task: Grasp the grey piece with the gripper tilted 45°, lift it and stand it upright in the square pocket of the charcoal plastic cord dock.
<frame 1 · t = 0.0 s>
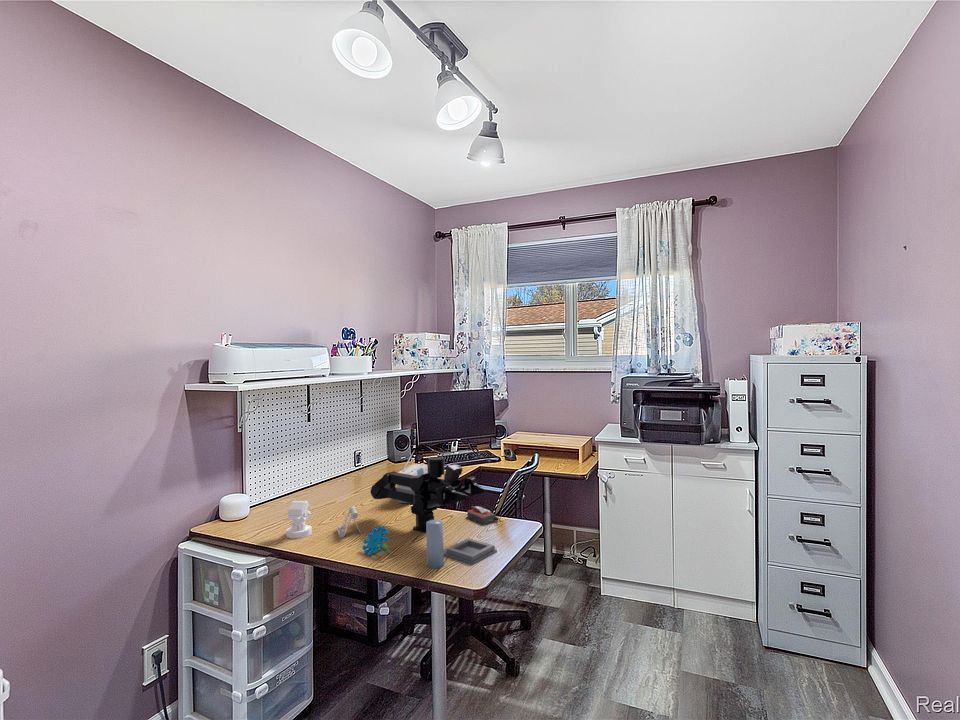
hand: (476, 494, 165), 17 cm above the table, tool horizontal, fingers open, 9 cm apart
character figurine: (298, 535, 178), on the table
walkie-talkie: (479, 518, 193), on the table
portable electronic device stand: (349, 533, 179), on the table
stereo radio cassette player: (413, 498, 223), on the table
cord dock: (470, 553, 157), on the table
grey piece: (435, 565, 148), on the table
gear: (376, 553, 160), on the table
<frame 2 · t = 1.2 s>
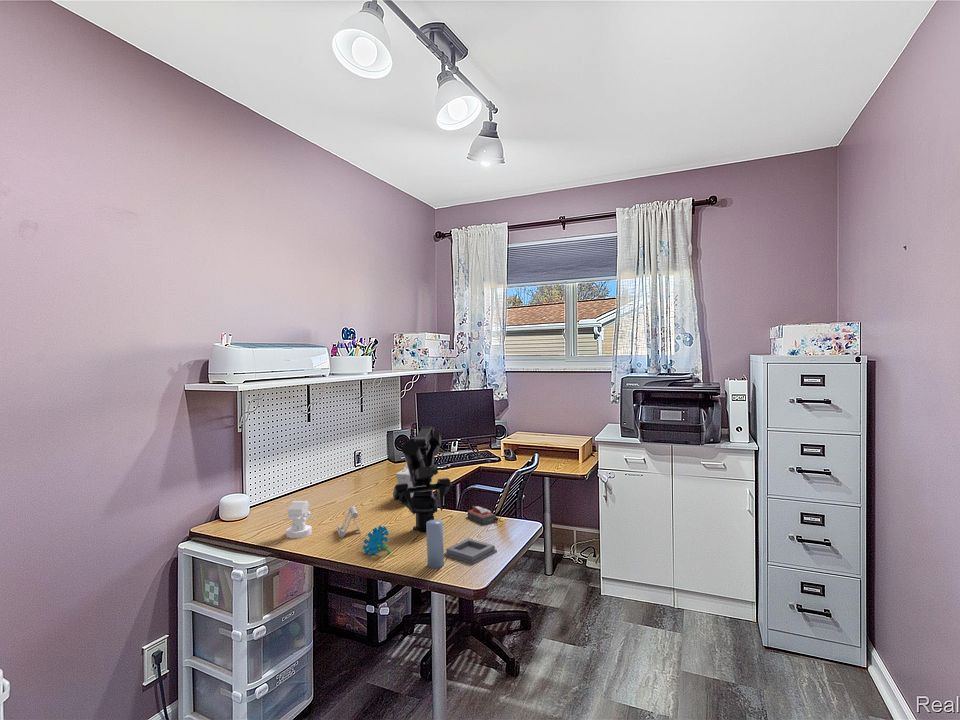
hand: (428, 511, 156), 14 cm above the table, tool tilted 45°, fingers open, 9 cm apart
nothing on the table moved.
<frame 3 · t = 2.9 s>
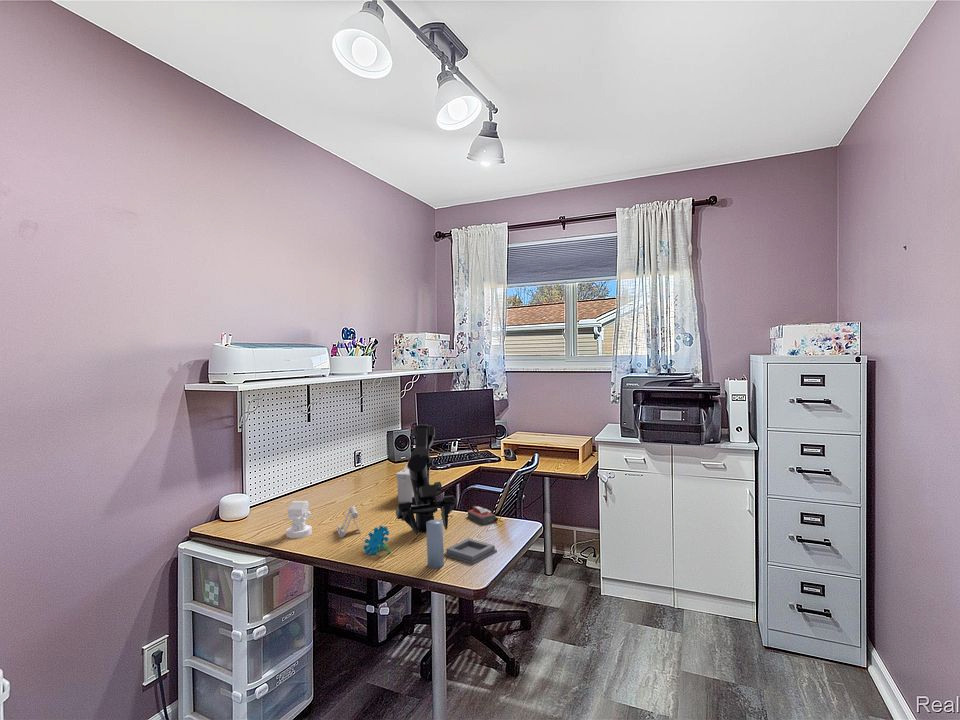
hand: (432, 531, 150), 9 cm above the table, tool tilted 45°, fingers open, 9 cm apart
nothing on the table moved.
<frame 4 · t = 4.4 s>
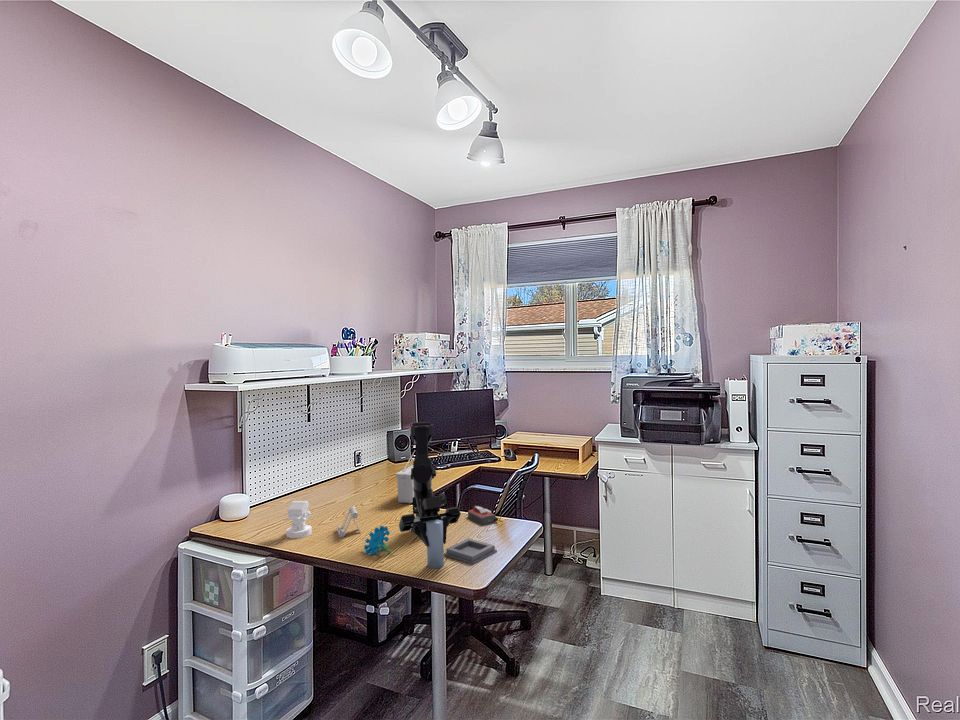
hand: (436, 544, 147), 7 cm above the table, tool tilted 45°, fingers closed on grey piece, 5 cm apart
grey piece: (435, 565, 148), on the table, touching gripper
everything else where it was.
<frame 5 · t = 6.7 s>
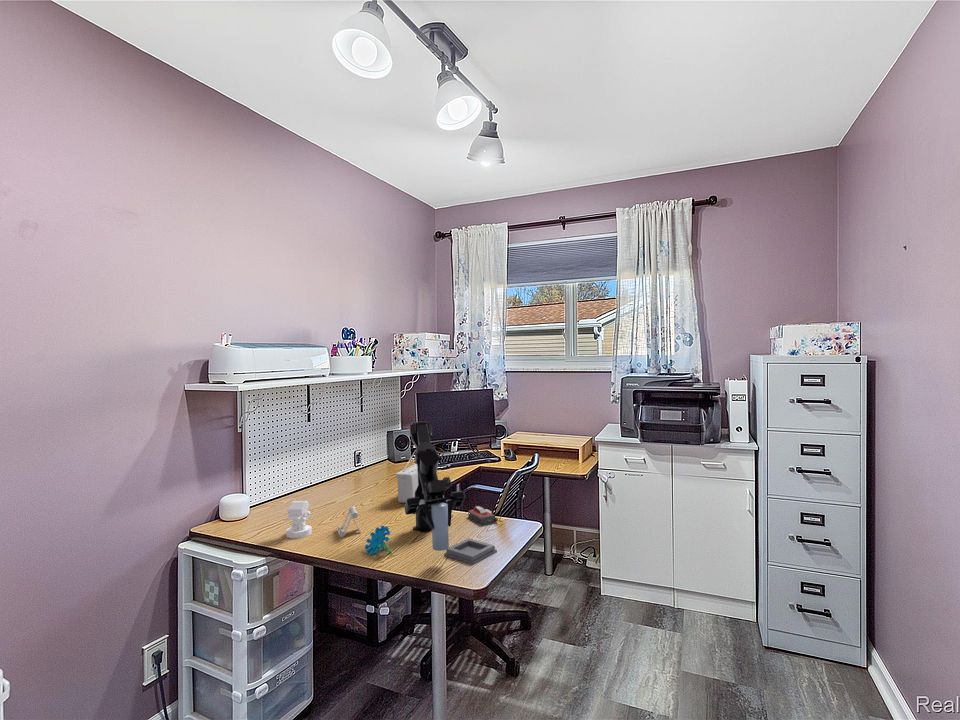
hand: (441, 527, 148), 11 cm above the table, tool tilted 45°, fingers closed on grey piece, 5 cm apart
grey piece: (440, 547, 150), point 5 cm above the table, touching gripper
everything else where it was.
when the fingers open (9 cm above the table, at t = 9.3 s): grey piece drops 2 cm, resting on cord dock.
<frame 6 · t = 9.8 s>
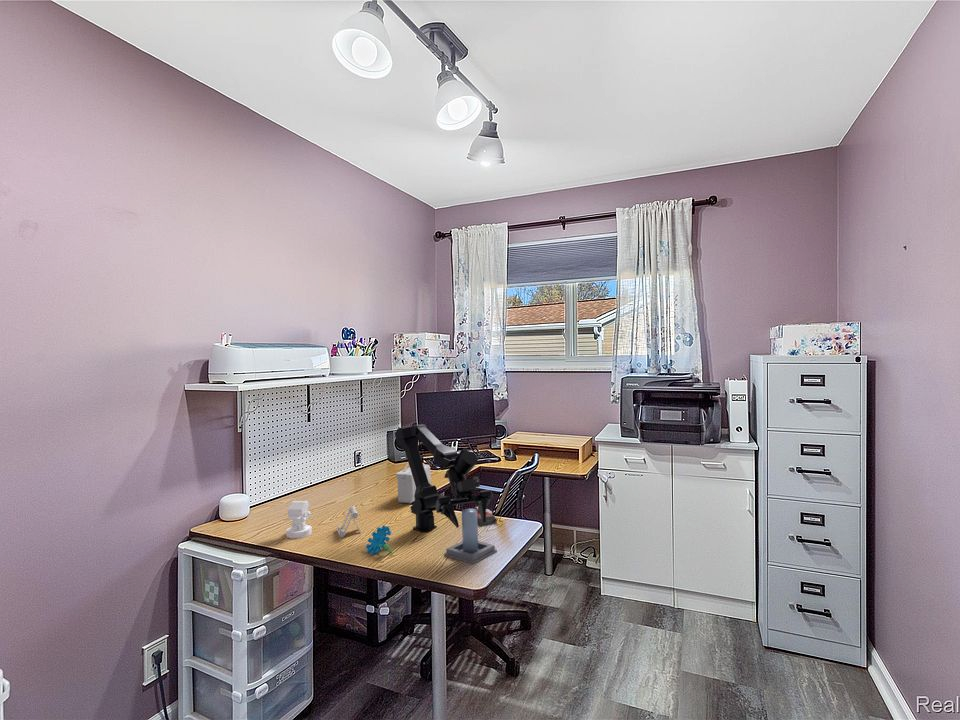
hand: (471, 524, 155), 10 cm above the table, tool tilted 45°, fingers open, 9 cm apart
grey piece: (470, 551, 157), point 1 cm above the table, touching cord dock
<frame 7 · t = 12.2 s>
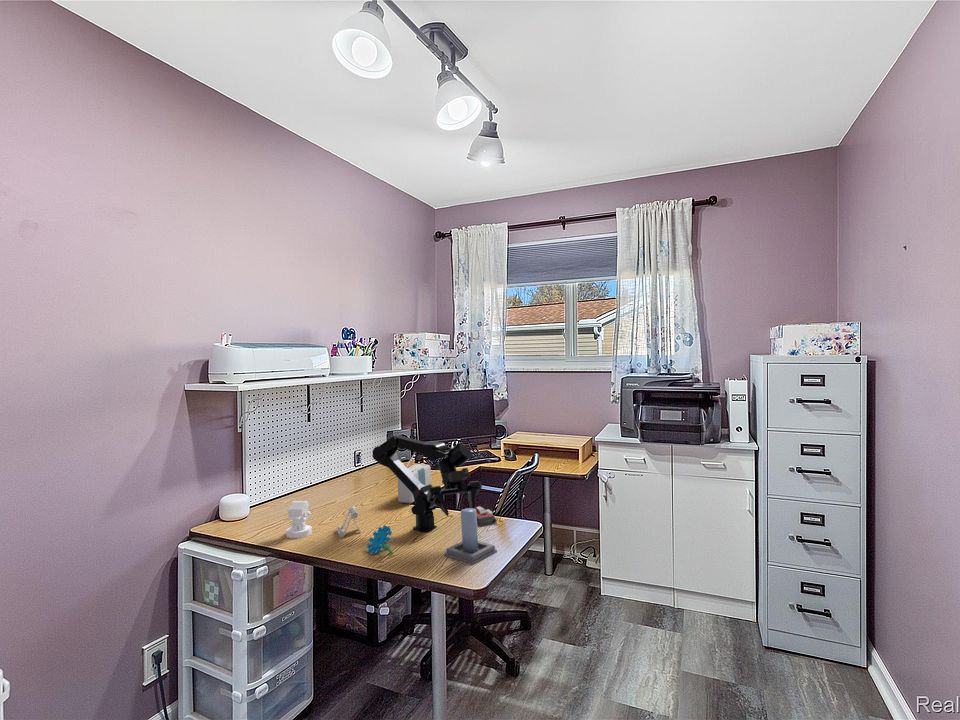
hand: (460, 513, 164), 11 cm above the table, tool tilted 45°, fingers open, 9 cm apart
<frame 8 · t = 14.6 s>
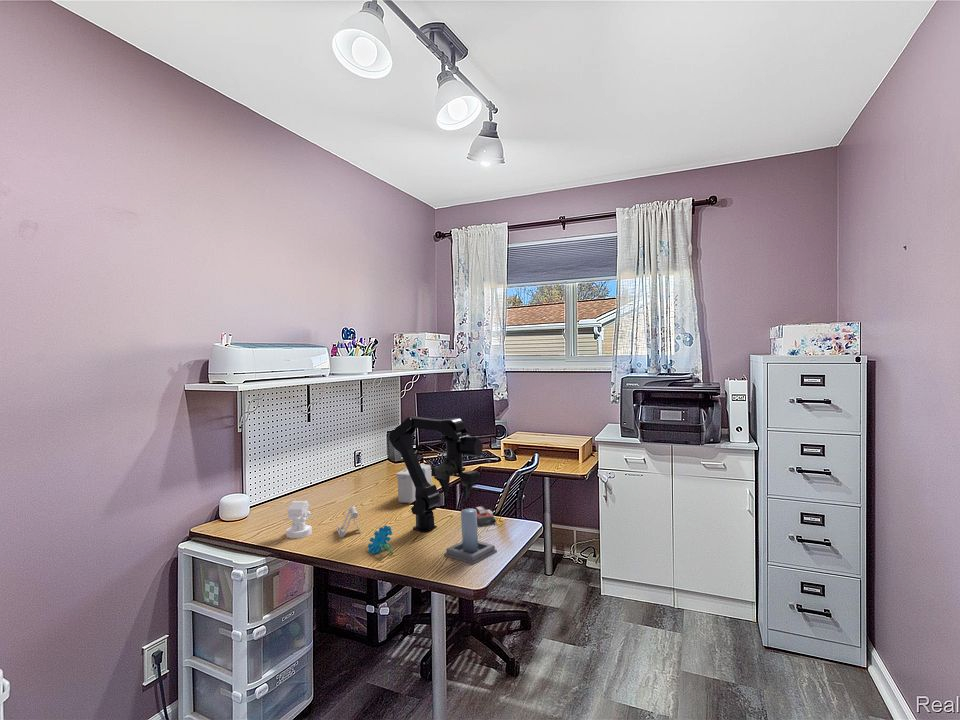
hand: (455, 498, 174), 13 cm above the table, tool pointing down, fingers open, 9 cm apart
at the end: grey piece 0.1 cm off-centre on the cord dock, point 0.7 cm above the cord dock's base; grey piece tilted 1°; the gripper is holding nothing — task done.
